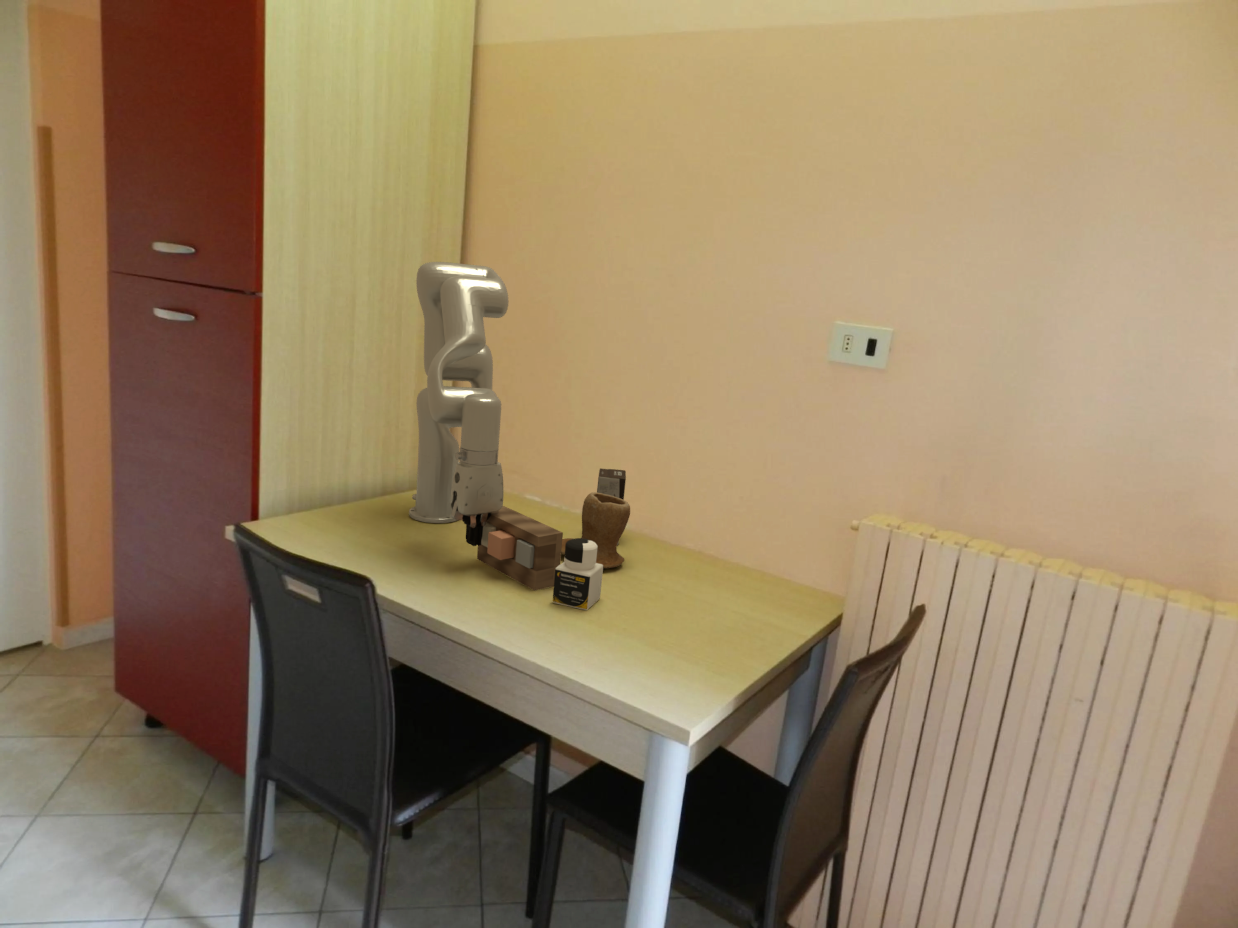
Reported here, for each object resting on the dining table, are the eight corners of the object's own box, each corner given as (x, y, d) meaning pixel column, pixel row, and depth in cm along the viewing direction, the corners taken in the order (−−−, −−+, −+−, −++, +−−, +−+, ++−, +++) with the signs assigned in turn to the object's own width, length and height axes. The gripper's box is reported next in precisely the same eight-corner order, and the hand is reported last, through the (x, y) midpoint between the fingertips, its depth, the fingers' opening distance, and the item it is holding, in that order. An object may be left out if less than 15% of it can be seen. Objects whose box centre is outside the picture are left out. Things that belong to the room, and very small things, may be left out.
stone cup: (636, 564, 186) (643, 498, 183) (600, 576, 177) (607, 507, 173) (584, 545, 195) (590, 482, 192) (548, 556, 186) (554, 490, 183)
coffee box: (619, 545, 197) (626, 478, 194) (591, 543, 197) (597, 476, 194) (619, 534, 206) (626, 469, 203) (593, 531, 206) (599, 467, 203)
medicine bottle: (551, 602, 160) (556, 542, 158) (566, 591, 167) (571, 532, 164) (586, 611, 158) (592, 550, 155) (600, 598, 165) (606, 539, 162)
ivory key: (477, 542, 177) (478, 522, 176) (493, 539, 180) (494, 519, 179) (489, 548, 174) (491, 528, 173) (505, 545, 176) (507, 525, 175)
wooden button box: (476, 559, 179) (480, 509, 177) (500, 554, 183) (503, 505, 181) (534, 590, 165) (538, 536, 163) (558, 585, 169) (563, 532, 167)
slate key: (515, 561, 168) (516, 540, 167) (531, 558, 171) (533, 537, 170) (529, 568, 165) (530, 546, 164) (545, 565, 168) (547, 543, 167)
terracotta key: (487, 553, 171) (488, 532, 170) (503, 550, 174) (505, 529, 173) (500, 559, 168) (501, 538, 167) (516, 556, 171) (518, 535, 170)
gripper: (456, 463, 162) (451, 555, 166) (520, 458, 172) (514, 544, 176) (436, 455, 167) (431, 543, 171) (499, 449, 177) (493, 533, 181)
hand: (473, 543), depth 174 cm, fingers closed
